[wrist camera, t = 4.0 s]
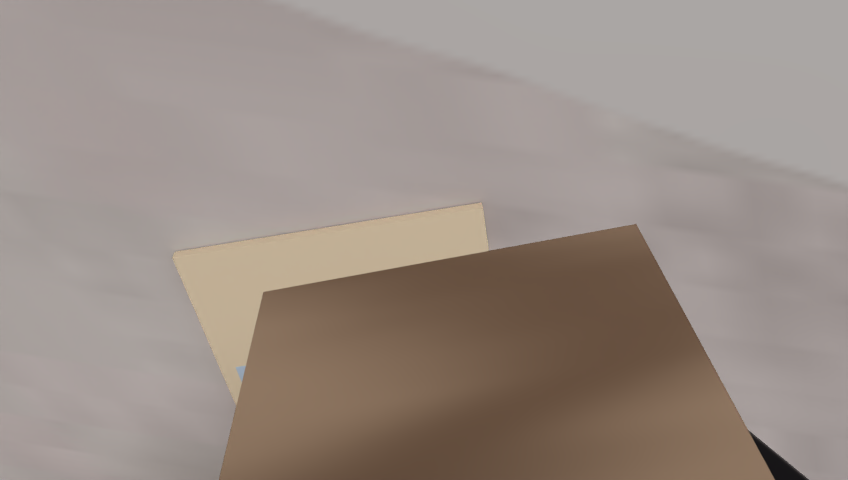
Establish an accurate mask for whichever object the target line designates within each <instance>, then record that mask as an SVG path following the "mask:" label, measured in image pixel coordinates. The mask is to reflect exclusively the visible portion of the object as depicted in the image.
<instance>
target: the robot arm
mask: <svg viewBox="0 0 848 480" xmlns="http://www.w3.org/2000/svg"><path fill="white" fill-rule="evenodd" d="M748 431H749V430H748ZM749 433H750V435H751V437H752V438H753V440H754V442H755V444H756V446H757V448H758V450H759V451H760V453H761V455H762V457H763V459H764V461H765V462H766V464H767V466H768V468H769V470H770V472H771V473H772V475H773V477H774V479H775V480H809V479H807V478H806V477H805V476H804V475H802V474H801V473H800V472H799V471H798V470H796V469H795V468H794V467H793V466H791V465H790V464H789V463H788V462H787V461H785V460H784V459H783V458H782V457H780V456H779V455H778V454H777V453H776V452H774V451H773V450H772V449H771V448H769V447H768V446H767V445H766V444H765V443H763V442H762V441H761V440H760V439H758V438H757V437H756V436H755V435H754V434H752V433H751V432H750V431H749Z"/></svg>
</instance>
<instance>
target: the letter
mask: <svg viewBox="0 0 848 480" xmlns="http://www.w3.org/2000/svg"><path fill="white" fill-rule="evenodd" d="M486 251H489V248H488V241H487V234H486V227H485V220H484V213H483V206H482V203H476V204H470V205H463V206H457V207H451V208H445V209H439V210H432V211H426V212H420V213H414V214H407V215H401V216H395V217H389V218H383V219H376V220H370V221H364V222H358V223H351V224H345V225H339V226H333V227H327V228H320V229H314V230H308V231H302V232H296V233H289V234H283V235H277V236H271V237H264V238H258V239H252V240H246V241H240V242H233V243H227V244H221V245H215V246H208V247H202V248H196V249H190V250H184V251H177V252H175V253H174V255H173V257H172V258H173V261H174V263H175V265H176V268H177V270H178V272H179V275H180V277H181V279H182V282H183V284H184V286H185V289H186V291H187V293H188V296H189V298H190V300H191V302H192V305H193V307H194V309H195V312H196V314H197V316H198V319H199V321H200V323H201V326H202V328H203V330H204V333H205V335H206V337H207V339H208V342H209V344H210V346H211V349H212V351H213V353H214V356H215V358H216V360H217V363H218V365H219V367H220V370H221V372H222V374H223V377H224V379H225V381H226V383H227V386H228V388H229V390H230V393H231V395H232V397H233V400H234V402H235V404H236V405H237V401H238V397H239V393H240V388H241V384H242V380H243V376H244V371H245V367H246V363H247V359H248V354H249V350H250V346H251V342H252V337H253V333H254V329H255V325H256V321H257V316H258V312H259V308H260V304H261V299H262V295H263V292H266V291H271V290H277V289H282V288H288V287H293V286H299V285H304V284H310V283H315V282H321V281H326V280H332V279H337V278H343V277H348V276H354V275H359V274H365V273H370V272H376V271H381V270H387V269H392V268H398V267H403V266H409V265H414V264H420V263H425V262H431V261H436V260H442V259H447V258H453V257H458V256H464V255H469V254H475V253H480V252H486Z"/></svg>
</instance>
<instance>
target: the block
mask: <svg viewBox="0 0 848 480" xmlns="http://www.w3.org/2000/svg"><path fill="white" fill-rule="evenodd" d="M219 480H775V479H774V477H773V475H772V473H771V472H770V470H769V468H768V466H767V464H766V462H765V461H764V459H763V457H762V455H761V453H760V451H759V450H758V448H757V446H756V444H755V442H754V440H753V438H752V437H751V435H750V433H749V431H748V429H747V427H746V426H745V424H744V422H743V420H742V418H741V416H740V415H739V413H738V411H737V409H736V407H735V405H734V403H733V402H732V400H731V398H730V396H729V394H728V392H727V391H726V389H725V387H724V385H723V383H722V381H721V380H720V378H719V376H718V374H717V372H716V370H715V368H714V367H713V365H712V363H711V361H710V359H709V357H708V356H707V354H706V352H705V350H704V348H703V346H702V345H701V343H700V341H699V339H698V337H697V335H696V333H695V332H694V330H693V328H692V326H691V324H690V322H689V321H688V319H687V317H686V315H685V313H684V311H683V310H682V308H681V306H680V304H679V302H678V300H677V298H676V297H675V295H674V293H673V291H672V289H671V287H670V286H669V284H668V282H667V280H666V278H665V276H664V275H663V273H662V271H661V269H660V267H659V265H658V263H657V262H656V260H655V258H654V256H653V254H652V252H651V251H650V249H649V247H648V245H647V243H646V241H645V240H644V238H643V236H642V234H641V232H640V230H639V228H638V227H637V225H636V224H634V225H628V226H623V227H618V228H612V229H607V230H601V231H596V232H590V233H585V234H579V235H574V236H568V237H563V238H557V239H552V240H546V241H541V242H535V243H530V244H524V245H519V246H513V247H508V248H502V249H497V250H491V251H486V252H480V253H475V254H469V255H464V256H458V257H453V258H447V259H442V260H436V261H431V262H425V263H420V264H414V265H409V266H403V267H398V268H392V269H387V270H381V271H376V272H370V273H365V274H359V275H354V276H348V277H343V278H337V279H332V280H326V281H321V282H315V283H310V284H304V285H299V286H293V287H288V288H282V289H277V290H271V291H266V292H263V295H262V299H261V304H260V308H259V312H258V316H257V321H256V325H255V329H254V333H253V337H252V342H251V346H250V350H249V354H248V359H247V363H246V367H245V371H244V376H243V380H242V384H241V388H240V393H239V397H238V401H237V405H236V410H235V414H234V418H233V422H232V427H231V431H230V435H229V439H228V444H227V448H226V452H225V456H224V461H223V465H222V469H221V473H220V478H219Z"/></svg>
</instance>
